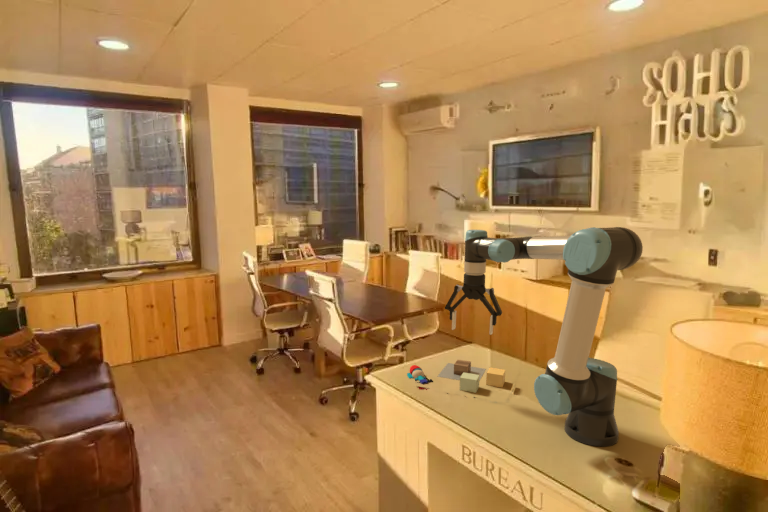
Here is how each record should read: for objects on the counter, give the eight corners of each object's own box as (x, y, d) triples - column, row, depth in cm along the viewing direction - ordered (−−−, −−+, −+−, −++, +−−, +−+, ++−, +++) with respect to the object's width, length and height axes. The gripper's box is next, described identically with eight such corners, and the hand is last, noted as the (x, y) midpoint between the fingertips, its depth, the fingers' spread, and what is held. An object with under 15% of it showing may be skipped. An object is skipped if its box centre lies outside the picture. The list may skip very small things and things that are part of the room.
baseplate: (477, 386, 181) (478, 383, 181) (437, 379, 187) (437, 376, 187) (486, 371, 196) (486, 368, 195) (447, 365, 202) (447, 362, 201)
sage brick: (475, 396, 173) (476, 380, 172) (459, 393, 175) (459, 377, 174) (478, 390, 178) (479, 375, 177) (462, 387, 180) (463, 372, 179)
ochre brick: (502, 390, 177) (502, 375, 177) (485, 388, 180) (486, 372, 179) (504, 384, 183) (505, 369, 182) (488, 382, 185) (489, 367, 184)
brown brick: (467, 376, 187) (467, 366, 187) (453, 374, 189) (454, 364, 189) (470, 371, 193) (471, 361, 192) (457, 368, 195) (457, 359, 194)
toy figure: (436, 391, 180) (420, 370, 193) (436, 380, 178) (420, 360, 192) (417, 395, 178) (403, 374, 191) (417, 384, 176) (403, 363, 189)
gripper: (512, 274, 169) (509, 333, 172) (443, 268, 178) (441, 324, 181) (508, 278, 162) (505, 338, 165) (437, 272, 171) (435, 329, 175)
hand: (472, 331), depth 173 cm, fingers open, 13 cm apart
